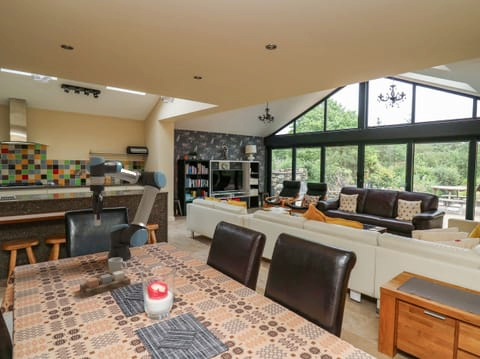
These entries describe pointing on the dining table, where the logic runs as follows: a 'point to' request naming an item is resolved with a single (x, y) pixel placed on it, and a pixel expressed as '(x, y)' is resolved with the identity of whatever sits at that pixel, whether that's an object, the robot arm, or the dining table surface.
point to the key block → (104, 286)
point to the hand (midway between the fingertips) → (97, 225)
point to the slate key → (105, 279)
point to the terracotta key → (92, 282)
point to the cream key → (118, 275)
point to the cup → (116, 264)
